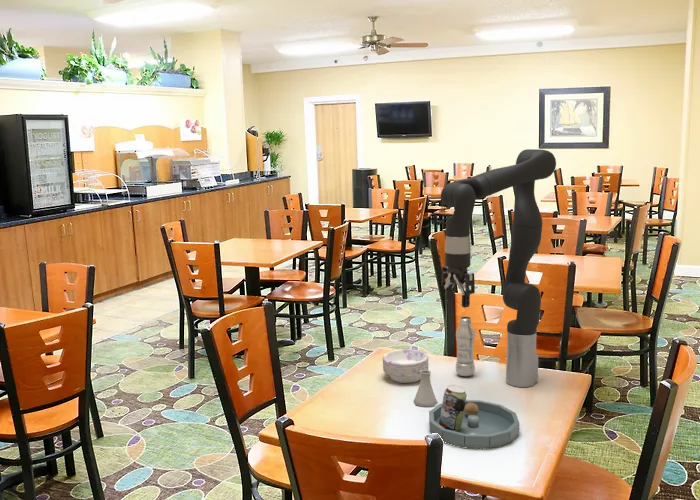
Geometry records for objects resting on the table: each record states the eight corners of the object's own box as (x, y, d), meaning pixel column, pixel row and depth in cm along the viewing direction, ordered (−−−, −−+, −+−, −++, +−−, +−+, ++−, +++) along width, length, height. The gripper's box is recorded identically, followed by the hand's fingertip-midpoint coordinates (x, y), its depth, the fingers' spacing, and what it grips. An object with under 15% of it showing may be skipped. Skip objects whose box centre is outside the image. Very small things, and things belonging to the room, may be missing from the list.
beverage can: (436, 424, 187) (436, 383, 185) (462, 423, 188) (463, 382, 186) (441, 434, 181) (442, 392, 179) (468, 433, 182) (469, 390, 180)
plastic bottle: (477, 373, 229) (477, 316, 226) (471, 379, 223) (472, 321, 220) (458, 370, 232) (458, 314, 229) (452, 377, 226) (453, 319, 223)
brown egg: (472, 412, 195) (473, 399, 194) (481, 417, 191) (481, 404, 191) (461, 415, 193) (461, 401, 193) (469, 420, 190) (469, 406, 189)
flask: (436, 408, 201) (436, 376, 199) (412, 406, 203) (412, 375, 201) (438, 399, 208) (438, 368, 206) (414, 397, 210) (414, 366, 208)
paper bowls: (374, 381, 224) (374, 358, 222) (396, 367, 237) (395, 346, 235) (416, 389, 216) (416, 366, 215) (436, 375, 229) (436, 352, 227)
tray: (483, 405, 202) (483, 394, 202) (536, 437, 181) (536, 424, 180) (413, 421, 192) (413, 409, 192) (461, 456, 171) (461, 443, 170)
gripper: (482, 253, 195) (481, 307, 198) (454, 246, 208) (454, 297, 210) (460, 255, 192) (460, 310, 195) (434, 248, 205) (434, 300, 207)
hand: (457, 303), depth 203 cm, fingers open, 8 cm apart
